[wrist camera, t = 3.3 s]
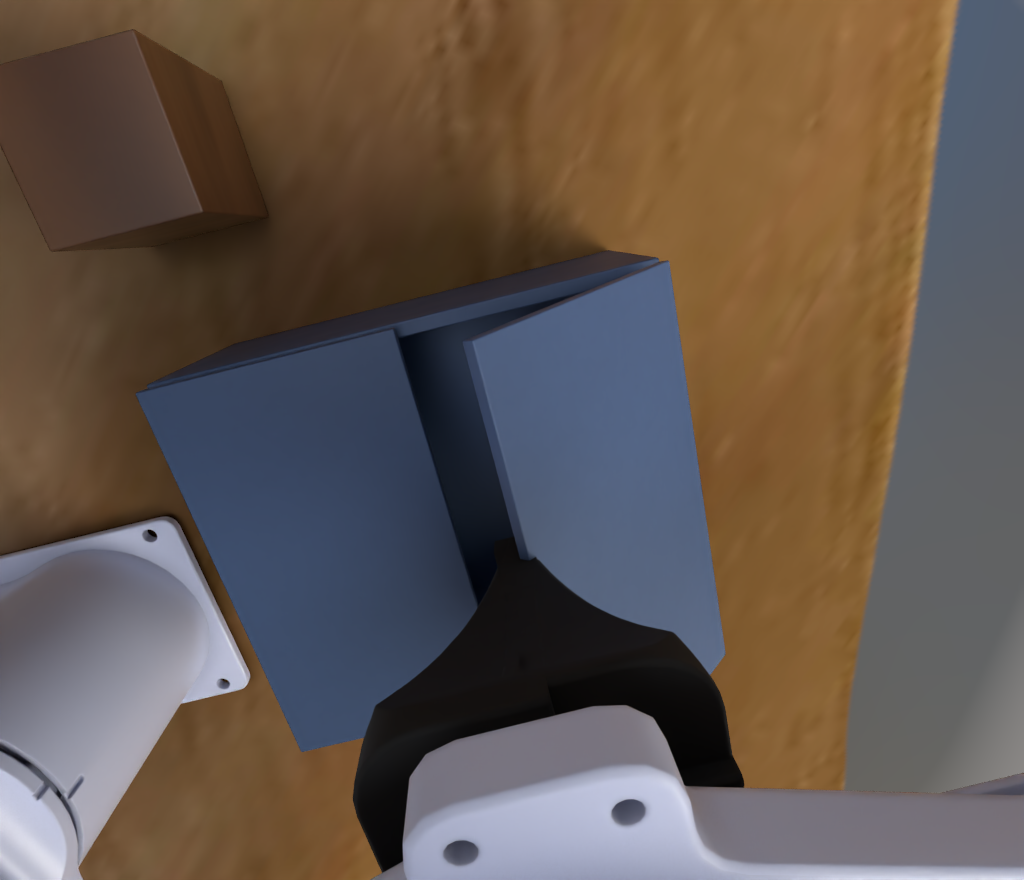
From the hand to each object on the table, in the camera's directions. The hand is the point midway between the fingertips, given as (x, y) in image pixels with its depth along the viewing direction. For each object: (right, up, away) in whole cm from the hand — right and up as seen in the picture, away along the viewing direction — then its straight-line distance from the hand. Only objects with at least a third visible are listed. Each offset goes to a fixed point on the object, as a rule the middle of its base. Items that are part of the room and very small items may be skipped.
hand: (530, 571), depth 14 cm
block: (-11, +12, +5) cm, 17 cm away
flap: (+2, +1, 0) cm, 2 cm away
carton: (-2, +3, +9) cm, 9 cm away
